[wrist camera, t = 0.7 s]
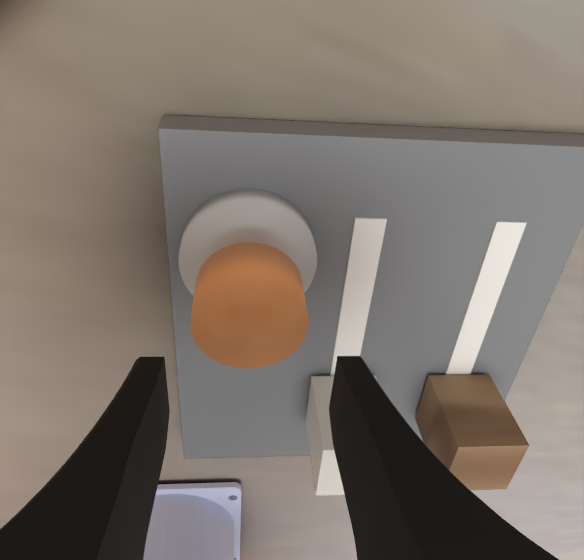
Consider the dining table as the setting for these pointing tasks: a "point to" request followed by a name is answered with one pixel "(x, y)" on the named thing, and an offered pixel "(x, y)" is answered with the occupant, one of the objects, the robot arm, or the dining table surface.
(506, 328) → the panel
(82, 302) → the dining table surface
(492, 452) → the slider walnut
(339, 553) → the dining table surface
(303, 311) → the button orange
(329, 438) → the slider cream
